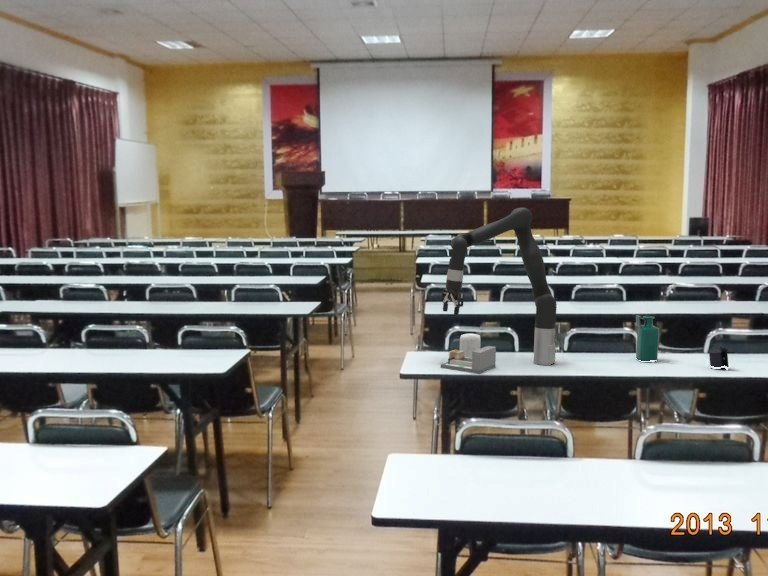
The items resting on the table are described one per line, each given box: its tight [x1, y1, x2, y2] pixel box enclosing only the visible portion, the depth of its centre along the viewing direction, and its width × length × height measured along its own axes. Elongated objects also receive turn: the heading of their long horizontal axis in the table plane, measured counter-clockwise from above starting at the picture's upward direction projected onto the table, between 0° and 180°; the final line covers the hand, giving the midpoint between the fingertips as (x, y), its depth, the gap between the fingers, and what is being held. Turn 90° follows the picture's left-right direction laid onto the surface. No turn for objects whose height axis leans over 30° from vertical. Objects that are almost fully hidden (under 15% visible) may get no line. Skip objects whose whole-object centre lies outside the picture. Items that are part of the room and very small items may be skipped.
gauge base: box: [440, 345, 497, 375], centre depth 326 cm, size 20×16×10 cm
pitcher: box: [635, 314, 660, 361], centre depth 343 cm, size 10×8×22 cm
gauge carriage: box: [447, 349, 465, 364], centre depth 327 cm, size 5×11×5 cm, turn 146°
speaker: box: [708, 346, 729, 367], centre depth 328 cm, size 8×6×10 cm
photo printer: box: [459, 333, 481, 358], centre depth 344 cm, size 10×4×12 cm, turn 98°
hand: (450, 313), depth 334 cm, fingers open, 8 cm apart
